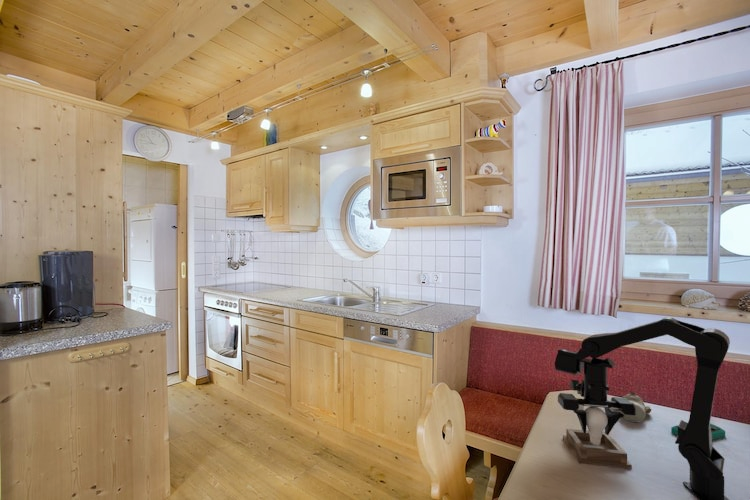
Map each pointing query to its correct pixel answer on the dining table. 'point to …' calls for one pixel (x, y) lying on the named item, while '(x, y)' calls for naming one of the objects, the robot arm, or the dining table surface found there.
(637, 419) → the ceramic sculpture
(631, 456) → the dining table surface
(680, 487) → the dining table surface
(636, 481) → the dining table surface
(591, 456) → the bulb holder
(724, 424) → the dining table surface
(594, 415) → the lightbulb
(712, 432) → the digital multimeter
